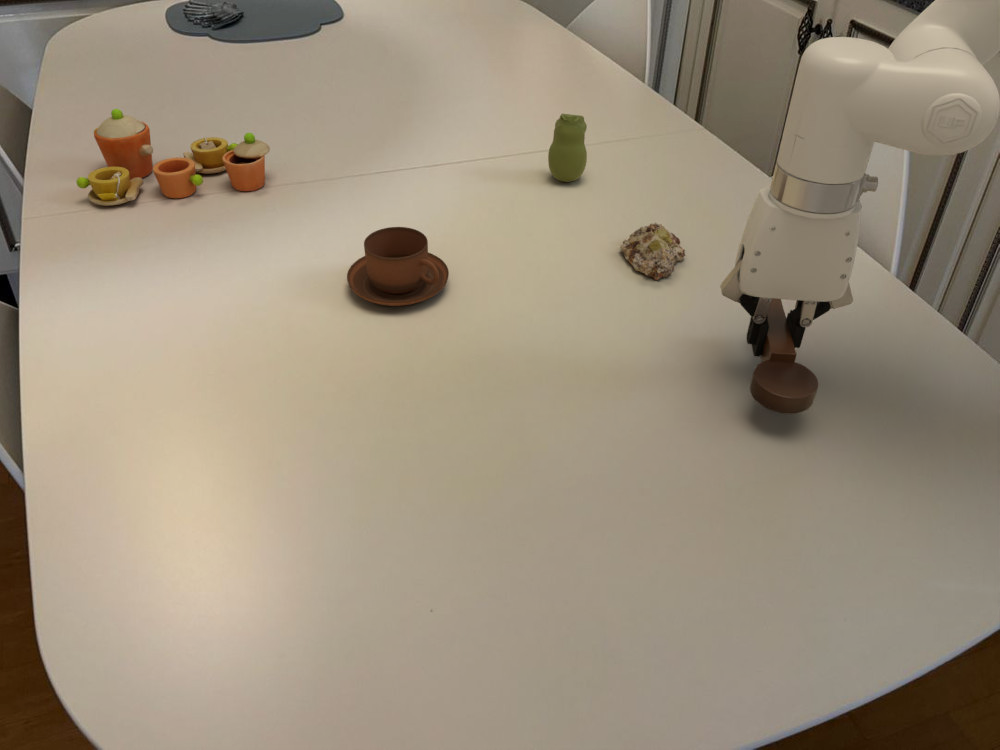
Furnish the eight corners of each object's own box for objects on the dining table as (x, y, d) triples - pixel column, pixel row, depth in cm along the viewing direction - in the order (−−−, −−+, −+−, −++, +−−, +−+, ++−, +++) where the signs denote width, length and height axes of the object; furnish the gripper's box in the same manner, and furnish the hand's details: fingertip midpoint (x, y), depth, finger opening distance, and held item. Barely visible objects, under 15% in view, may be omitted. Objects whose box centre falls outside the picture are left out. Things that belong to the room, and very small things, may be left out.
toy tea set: (79, 213, 116) (57, 146, 110) (94, 166, 128) (75, 102, 122) (275, 195, 121) (265, 130, 115) (272, 151, 133) (262, 89, 127)
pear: (544, 185, 125) (547, 118, 118) (551, 170, 129) (554, 105, 122) (582, 189, 124) (587, 123, 117) (587, 174, 128) (593, 109, 121)
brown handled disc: (818, 416, 80) (827, 392, 78) (753, 411, 80) (760, 386, 79) (789, 317, 93) (796, 294, 91) (734, 313, 93) (739, 290, 91)
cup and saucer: (461, 269, 106) (461, 225, 102) (429, 322, 97) (427, 276, 93) (371, 255, 108) (367, 211, 104) (332, 305, 99) (325, 259, 95)
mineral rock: (616, 220, 111) (679, 208, 110) (622, 249, 114) (683, 237, 112) (618, 265, 103) (686, 253, 101) (625, 295, 106) (690, 283, 104)
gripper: (896, 173, 79) (842, 334, 90) (720, 162, 80) (689, 323, 92) (918, 210, 73) (858, 378, 85) (728, 198, 74) (694, 365, 86)
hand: (770, 348), depth 88 cm, fingers closed on brown handled disc, 2 cm apart
